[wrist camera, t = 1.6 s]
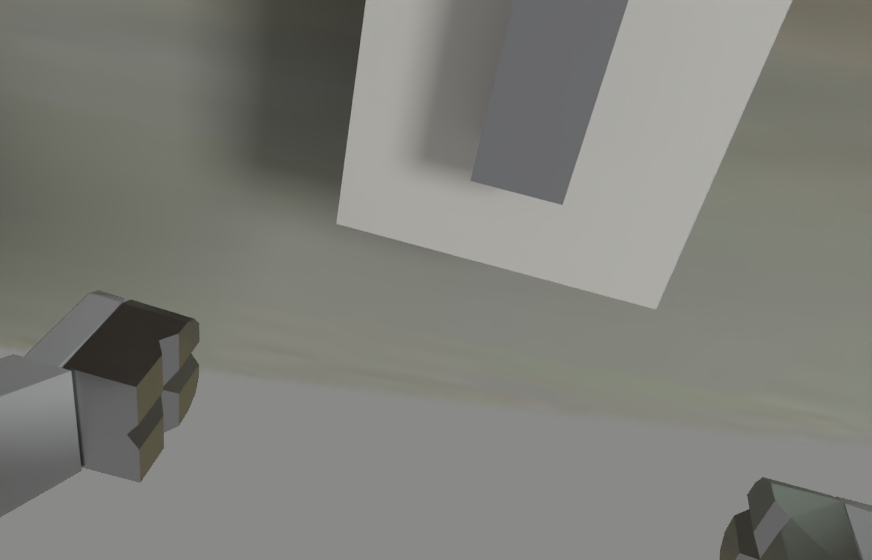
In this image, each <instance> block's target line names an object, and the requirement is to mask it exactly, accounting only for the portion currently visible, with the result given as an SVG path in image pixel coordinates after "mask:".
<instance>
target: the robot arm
mask: <svg viewBox="0 0 872 560" xmlns="http://www.w3.org/2000/svg"><path fill="white" fill-rule="evenodd" d="M198 343H199V323H198V322H197V321H196V320H195V319H193V318H190V317H187V316H183V315H180V314H177V313H174V312H170V311H167V310H164V309H160V308H157V307H154V306H150V305H147V304H144V303H141V302H137V301H134V300H128V299H125V298H122V297H118V296H115V295H112V294H109V293H105V292H102V291H99V290H98V291H95V292H92V293H89V294H87V295H86V296H85V297H84V298H83V299H82V300H81V301H80V302H79V303H78V304H77V305H76V306H75V307H74V308H73V309H72V310H71V311H70V312H69V313H68V314H67V315H66V316H65V317H64V318H63V319H62V320H61V321H60V322H59V323H58V324H57V325H56V326H55V327H54V328H53V329H52V330H51V331H50V332H49V333H48V334H47V335H45V336H44V337H43V338H42V339H41V340H40V341H39V342H38V343H37V344H36V345H35V346H34V347H33V348H32V349H31V350H30V351H29V352H28V353H27V354H26V355H25V356H24V357H22V356H18V355H14V354H13V355H10V356H7V357H4V358H1V359H0V517H2V516H3V515H5V514H7V513H8V512H10V511H12V510H14V509H16V508H17V507H19V506H21V505H23V504H24V503H26V502H28V501H29V500H31V499H33V498H35V497H37V496H38V495H40V494H42V493H44V492H45V491H47V490H49V489H51V488H52V487H54V486H56V485H57V484H59V483H61V482H63V481H64V480H66V479H68V478H70V477H71V476H73V475H75V474H77V473H78V472H80V471H81V470H82V469H81V467H83V468H87V469H91V470H94V471H98V472H102V473H106V474H110V475H114V476H117V477H121V478H125V479H129V480H132V481H136V482H141V481H142V479H143V478H144V476H145V475H146V474H147V472H148V471H149V469H150V468H151V466H152V465H153V463H154V462H155V460H156V459H157V457H158V456H159V454H160V453H161V451H162V450H163V448H164V432H166V431H169V430H171V429H172V428H175V427H177V426H179V425H180V423H181V421H182V420H183V418H184V417H185V415H186V413H187V412H188V410H189V407H190V405H191V403H192V400H193V398H194V395H195V393H196V388H197V383H198V378H199V364H198V363H197V361H196V360H195V358H194V357H193V355H192V354H191V352H192V351H193V350H194V348H195V347H196V345H197V344H198ZM747 496H748V502H749V508H750V509H749V510H746V511H744V512H742V513H739V514H737V515H735V516H734V517H733V519H732V520H731V522H730V524H729V526H728V527H727V529H726V531H725V534H724V537H723V541H722V545H721V549H720V560H872V506H871V505H867V504H863V503H859V502H856V501H852V500H848V499H844V498H840V497H833V496H831V495H827V494H823V493H820V492H816V491H812V490H809V489H805V488H801V487H798V486H793V485H790V484H787V483H783V482H779V481H775V480H772V479H768V478H764V477H763V478H761V479H760V480H758V481H757V482H756V483H755V484H754V485H753V487H752V488H751V490H750V491H749V493H748V494H747Z"/></svg>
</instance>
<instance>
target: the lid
mask: <svg viewBox="0 0 872 560" xmlns="http://www.w3.org/2000/svg"><path fill="white" fill-rule="evenodd" d="M791 2H792V0H366V3H365V11H364V18H363V26H362V34H361V41H360V49H359V56H358V64H357V71H356V79H355V86H354V94H353V102H352V109H351V117H350V124H349V132H348V139H347V147H346V154H345V162H344V170H343V177H342V185H341V192H340V200H339V207H338V215H337V222H336V224H339V225H343V226H346V227H350V228H354V229H358V230H361V231H365V232H369V233H373V234H376V235H380V236H384V237H388V238H391V239H395V240H399V241H403V242H406V243H410V244H414V245H417V246H421V247H425V248H429V249H432V250H436V251H440V252H444V253H447V254H451V255H455V256H459V257H462V258H466V259H470V260H473V261H477V262H481V263H485V264H488V265H492V266H496V267H500V268H503V269H507V270H511V271H515V272H518V273H522V274H526V275H530V276H533V277H537V278H541V279H544V280H548V281H552V282H556V283H559V284H563V285H567V286H571V287H574V288H578V289H582V290H586V291H589V292H593V293H597V294H601V295H604V296H608V297H612V298H615V299H619V300H623V301H627V302H630V303H634V304H638V305H642V306H645V307H649V308H653V309H656V308H657V306H658V304H659V302H660V299H661V297H662V295H663V292H664V290H665V288H666V286H667V283H668V281H669V279H670V277H671V274H672V272H673V270H674V268H675V265H676V263H677V261H678V258H679V256H680V254H681V252H682V249H683V247H684V245H685V243H686V240H687V238H688V236H689V234H690V231H691V229H692V227H693V224H694V222H695V220H696V218H697V215H698V213H699V211H700V209H701V206H702V204H703V202H704V200H705V197H706V195H707V193H708V190H709V188H710V186H711V184H712V181H713V179H714V177H715V175H716V172H717V170H718V168H719V165H720V163H721V161H722V159H723V156H724V154H725V152H726V150H727V147H728V145H729V143H730V141H731V138H732V136H733V134H734V131H735V129H736V127H737V125H738V122H739V120H740V118H741V116H742V113H743V111H744V109H745V107H746V104H747V102H748V100H749V97H750V95H751V93H752V91H753V88H754V86H755V84H756V82H757V79H758V77H759V75H760V73H761V70H762V68H763V66H764V63H765V61H766V59H767V57H768V54H769V52H770V50H771V48H772V45H773V43H774V41H775V39H776V36H777V34H778V32H779V29H780V27H781V25H782V23H783V20H784V18H785V16H786V14H787V11H788V9H789V7H790V5H791Z"/></svg>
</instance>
